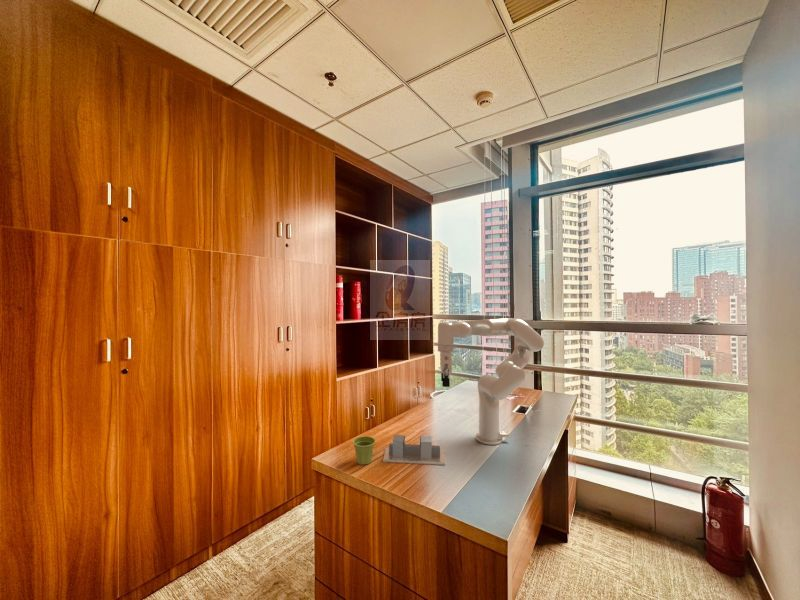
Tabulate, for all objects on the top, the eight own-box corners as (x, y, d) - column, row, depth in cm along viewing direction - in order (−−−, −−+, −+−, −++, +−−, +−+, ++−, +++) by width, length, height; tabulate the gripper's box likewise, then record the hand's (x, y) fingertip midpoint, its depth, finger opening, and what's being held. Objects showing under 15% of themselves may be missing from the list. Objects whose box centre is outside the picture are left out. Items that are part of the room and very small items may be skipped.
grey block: (431, 452, 139) (431, 436, 139) (431, 458, 133) (431, 442, 133) (419, 451, 139) (420, 435, 139) (419, 458, 133) (419, 441, 133)
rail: (443, 452, 141) (443, 434, 141) (445, 465, 130) (445, 445, 130) (386, 449, 143) (386, 431, 143) (383, 461, 132) (383, 442, 132)
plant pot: (365, 469, 126) (366, 448, 126) (348, 463, 131) (348, 442, 131) (379, 459, 134) (379, 439, 134) (362, 454, 139) (362, 434, 139)
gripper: (455, 351, 142) (454, 389, 142) (451, 345, 159) (451, 379, 159) (438, 350, 142) (438, 388, 142) (437, 345, 160) (436, 379, 159)
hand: (445, 383), depth 151 cm, fingers open, 9 cm apart
